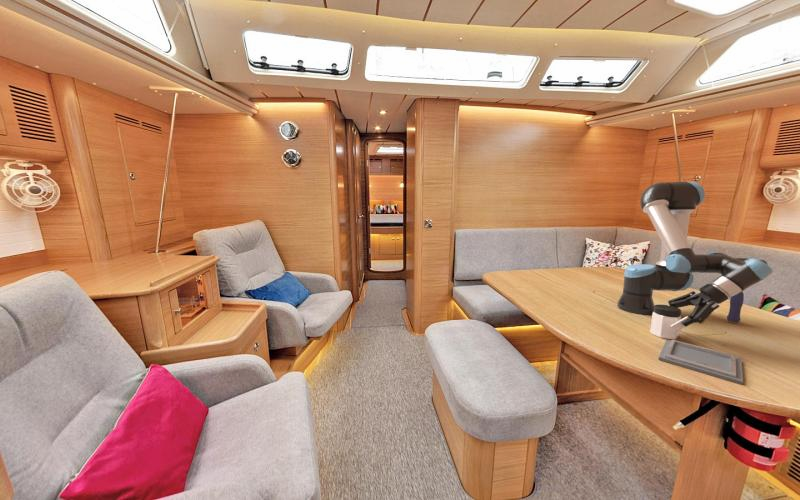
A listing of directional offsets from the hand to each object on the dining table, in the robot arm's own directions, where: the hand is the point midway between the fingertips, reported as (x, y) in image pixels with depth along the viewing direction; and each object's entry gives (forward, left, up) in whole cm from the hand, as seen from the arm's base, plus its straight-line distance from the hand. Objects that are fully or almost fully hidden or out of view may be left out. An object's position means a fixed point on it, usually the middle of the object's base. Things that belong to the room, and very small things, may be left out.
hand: (664, 322), depth 115 cm
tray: (+11, -16, -6) cm, 20 cm away
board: (+11, -16, -6) cm, 20 cm away
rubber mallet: (+19, +39, -6) cm, 44 cm away
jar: (0, +1, -6) cm, 6 cm away
